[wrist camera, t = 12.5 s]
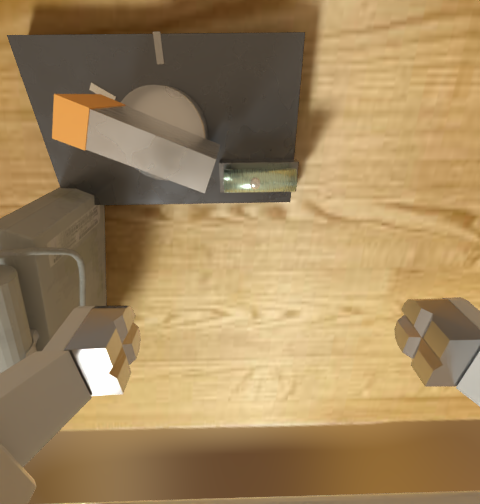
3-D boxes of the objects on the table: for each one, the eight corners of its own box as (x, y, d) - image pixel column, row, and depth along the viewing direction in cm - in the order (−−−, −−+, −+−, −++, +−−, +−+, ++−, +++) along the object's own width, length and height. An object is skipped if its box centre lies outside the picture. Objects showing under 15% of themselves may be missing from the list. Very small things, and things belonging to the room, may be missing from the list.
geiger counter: (-102, 248, 13) (3, 475, 25) (39, 271, 14) (75, 480, 26) (60, 174, 25) (78, 352, 37) (130, 189, 26) (125, 358, 38)
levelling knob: (230, 112, 20) (229, 121, 13) (206, 185, 23) (194, 223, 16) (121, 64, 19) (56, 45, 12) (109, 148, 22) (50, 174, 15)
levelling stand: (301, 35, 20) (320, 19, 16) (288, 194, 26) (299, 214, 22) (26, 38, 20) (-33, 22, 15) (78, 198, 26) (46, 219, 21)
